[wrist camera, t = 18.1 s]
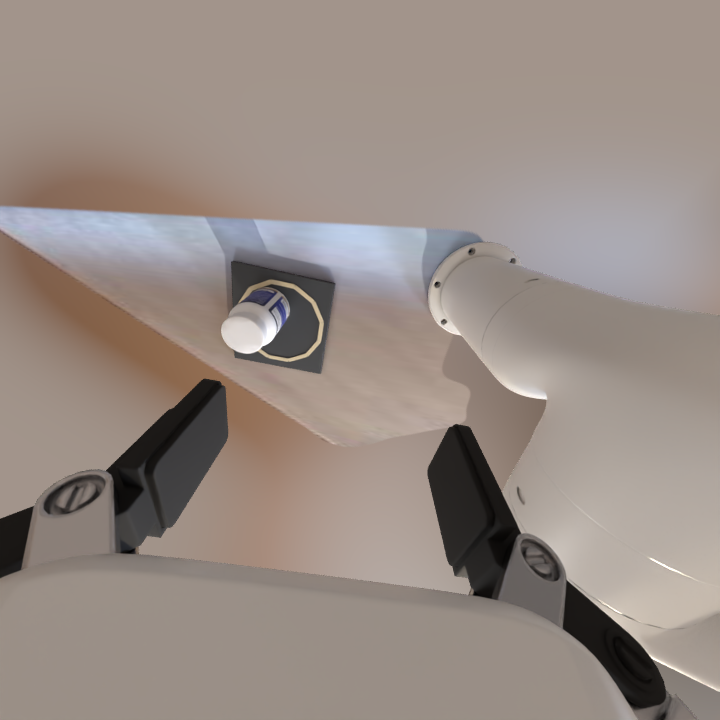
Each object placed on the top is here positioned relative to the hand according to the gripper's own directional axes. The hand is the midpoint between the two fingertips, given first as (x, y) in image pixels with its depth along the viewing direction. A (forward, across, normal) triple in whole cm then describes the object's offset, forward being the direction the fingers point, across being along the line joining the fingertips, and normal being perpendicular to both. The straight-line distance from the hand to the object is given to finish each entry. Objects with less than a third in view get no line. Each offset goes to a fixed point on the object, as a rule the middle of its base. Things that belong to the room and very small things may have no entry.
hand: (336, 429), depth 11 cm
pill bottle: (+28, +12, +6) cm, 31 cm away
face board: (+28, +10, +8) cm, 31 cm away
